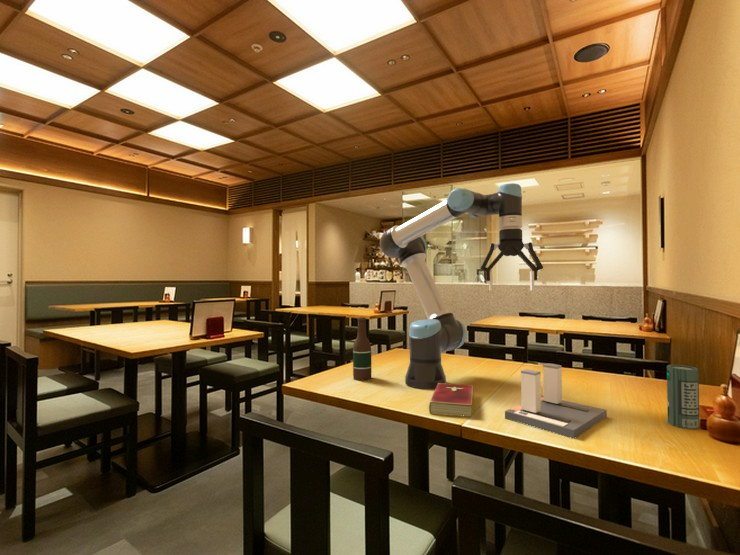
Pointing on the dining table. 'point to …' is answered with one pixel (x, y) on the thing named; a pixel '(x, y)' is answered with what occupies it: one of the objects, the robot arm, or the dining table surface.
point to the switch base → (552, 410)
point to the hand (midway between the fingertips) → (511, 290)
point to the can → (683, 396)
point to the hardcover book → (452, 399)
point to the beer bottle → (362, 353)
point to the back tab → (552, 383)
